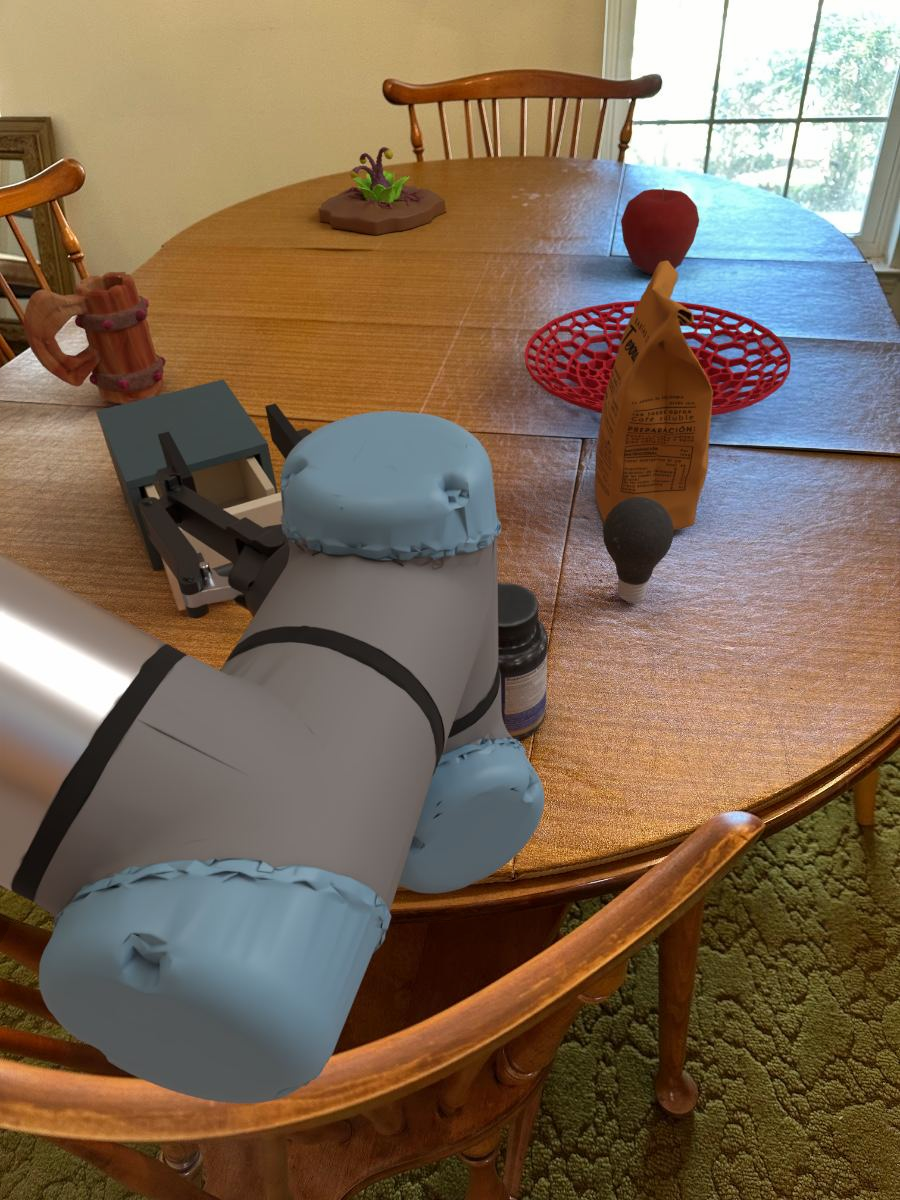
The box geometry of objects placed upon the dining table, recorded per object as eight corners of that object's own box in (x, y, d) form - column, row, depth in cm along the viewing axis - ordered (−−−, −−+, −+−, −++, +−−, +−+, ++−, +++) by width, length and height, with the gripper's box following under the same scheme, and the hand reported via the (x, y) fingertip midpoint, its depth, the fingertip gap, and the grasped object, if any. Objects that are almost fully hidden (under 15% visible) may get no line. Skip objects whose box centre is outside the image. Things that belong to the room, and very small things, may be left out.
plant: (380, 242, 153) (373, 169, 145) (303, 220, 163) (293, 151, 156) (463, 209, 163) (460, 140, 156) (385, 191, 174) (379, 125, 167)
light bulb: (607, 574, 83) (614, 478, 76) (670, 586, 81) (683, 489, 75) (590, 613, 79) (597, 515, 72) (657, 627, 77) (669, 528, 71)
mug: (156, 372, 119) (124, 254, 109) (186, 393, 114) (155, 271, 104) (45, 411, 112) (0, 289, 103) (71, 436, 107) (27, 309, 98)
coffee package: (691, 469, 95) (720, 252, 81) (702, 541, 86) (738, 310, 72) (593, 467, 96) (605, 254, 82) (593, 538, 87) (607, 310, 73)
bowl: (642, 489, 93) (646, 445, 90) (474, 383, 112) (473, 344, 109) (840, 401, 105) (849, 359, 101) (657, 319, 124) (660, 281, 121)
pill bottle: (450, 704, 71) (442, 592, 64) (519, 675, 73) (519, 564, 66) (490, 757, 67) (486, 644, 60) (562, 726, 69) (566, 613, 62)
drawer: (322, 596, 81) (308, 521, 76) (190, 640, 77) (167, 564, 72) (261, 497, 93) (246, 428, 88) (145, 531, 90) (123, 461, 85)
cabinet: (285, 531, 90) (267, 442, 84) (154, 571, 86) (125, 481, 80) (242, 462, 101) (223, 378, 95) (123, 495, 97) (95, 410, 91)
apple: (604, 267, 139) (608, 184, 132) (663, 253, 143) (671, 172, 135) (646, 291, 132) (653, 204, 124) (708, 275, 135) (719, 190, 127)
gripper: (169, 743, 48) (93, 521, 64) (507, 619, 54) (359, 445, 70) (130, 634, 43) (58, 424, 59) (506, 512, 49) (347, 351, 65)
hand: (222, 436), depth 65 cm, fingers open, 7 cm apart
